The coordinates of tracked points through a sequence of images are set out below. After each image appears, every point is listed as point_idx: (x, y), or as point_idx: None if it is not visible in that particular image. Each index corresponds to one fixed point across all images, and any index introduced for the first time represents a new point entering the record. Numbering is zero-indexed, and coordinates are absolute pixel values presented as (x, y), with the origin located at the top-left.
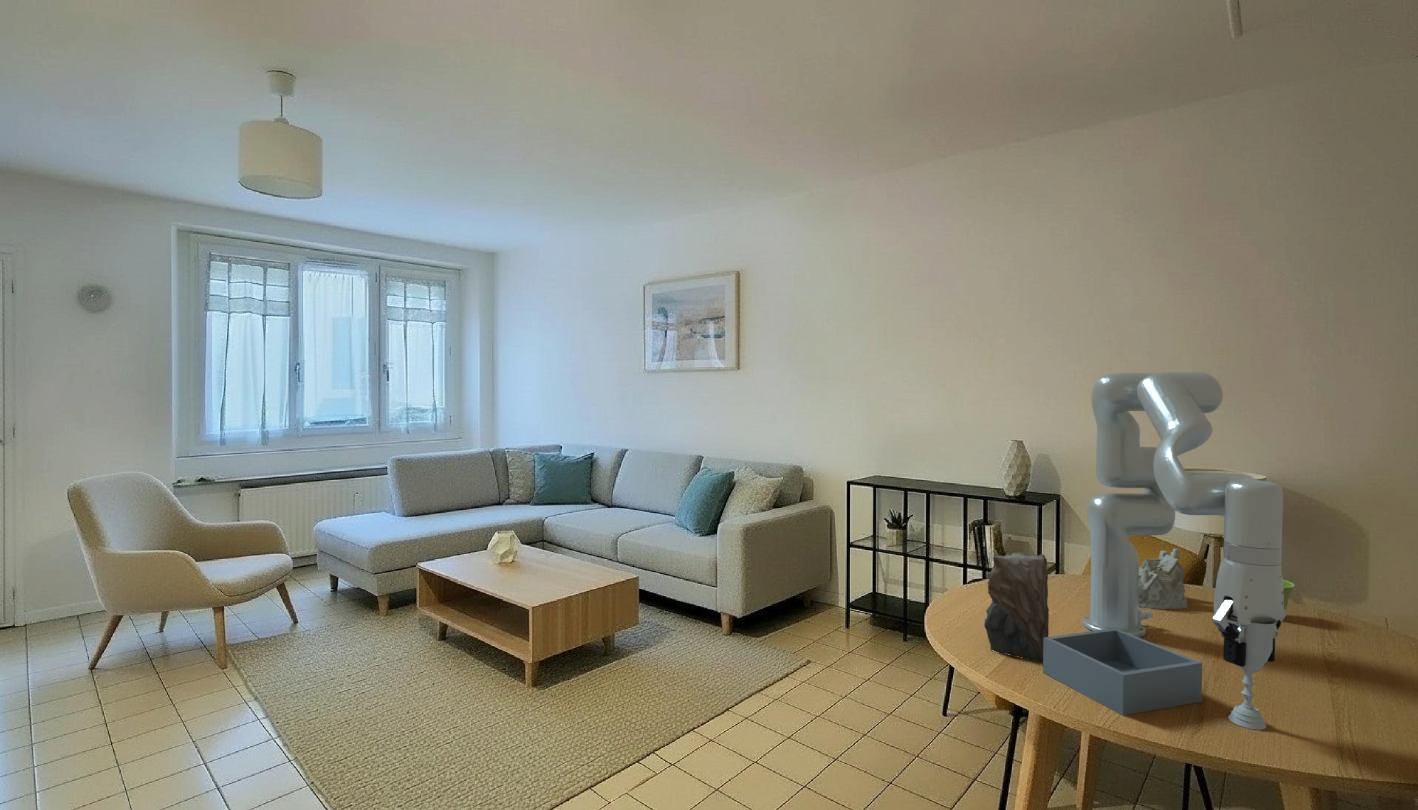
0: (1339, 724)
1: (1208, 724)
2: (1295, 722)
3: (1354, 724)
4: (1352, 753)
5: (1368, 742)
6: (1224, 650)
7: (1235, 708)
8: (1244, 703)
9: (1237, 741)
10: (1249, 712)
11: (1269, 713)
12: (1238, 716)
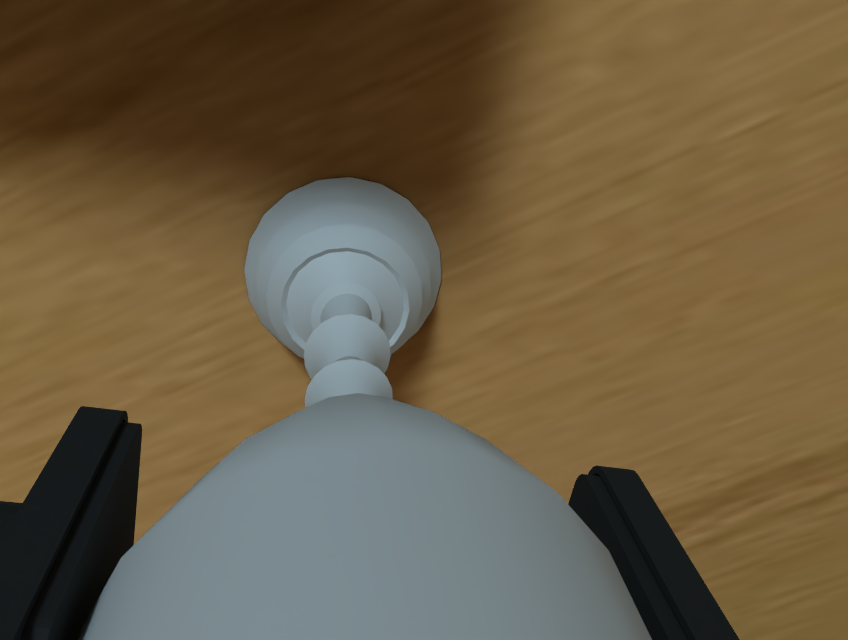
0: (766, 488)
1: (62, 179)
2: (599, 390)
3: (826, 514)
4: None
5: None
6: (46, 479)
7: (297, 252)
8: (323, 313)
9: (18, 373)
10: (296, 340)
11: (605, 272)
12: (260, 279)
